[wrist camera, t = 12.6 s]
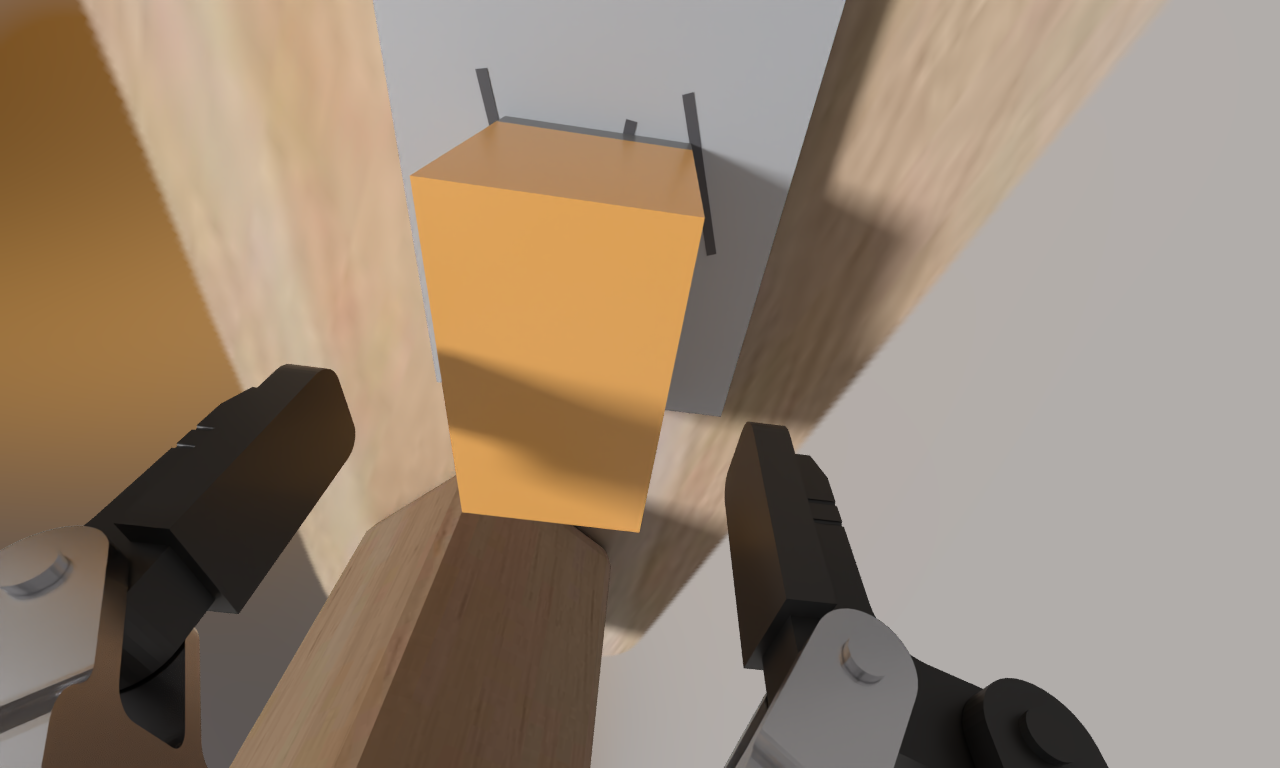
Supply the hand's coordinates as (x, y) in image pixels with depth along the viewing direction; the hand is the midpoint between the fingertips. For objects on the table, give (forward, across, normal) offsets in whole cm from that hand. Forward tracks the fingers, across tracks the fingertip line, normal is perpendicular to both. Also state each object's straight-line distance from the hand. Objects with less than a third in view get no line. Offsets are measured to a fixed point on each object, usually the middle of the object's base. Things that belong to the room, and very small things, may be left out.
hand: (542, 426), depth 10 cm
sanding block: (+7, 0, 0) cm, 7 cm away
